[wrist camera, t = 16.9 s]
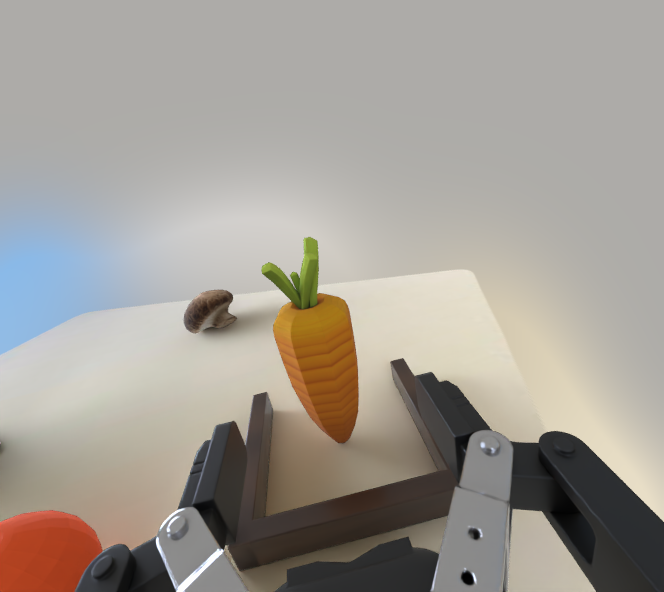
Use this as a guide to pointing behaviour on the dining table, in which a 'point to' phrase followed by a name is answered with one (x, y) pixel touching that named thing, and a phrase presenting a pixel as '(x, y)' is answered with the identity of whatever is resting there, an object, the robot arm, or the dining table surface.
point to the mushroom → (209, 311)
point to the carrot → (317, 347)
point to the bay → (340, 513)
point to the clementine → (45, 552)
